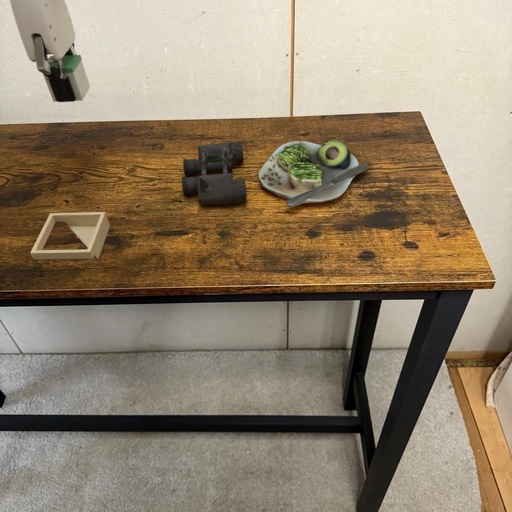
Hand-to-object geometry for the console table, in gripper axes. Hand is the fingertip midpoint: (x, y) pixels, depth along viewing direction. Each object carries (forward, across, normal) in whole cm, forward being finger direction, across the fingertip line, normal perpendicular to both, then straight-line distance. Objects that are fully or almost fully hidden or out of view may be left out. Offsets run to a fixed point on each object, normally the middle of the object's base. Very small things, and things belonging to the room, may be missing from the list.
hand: (71, 91), depth 78 cm
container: (0, 0, 0) cm, 0 cm away
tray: (+15, +22, +2) cm, 27 cm away
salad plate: (+15, +5, +41) cm, 44 cm away
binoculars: (+15, +6, +24) cm, 29 cm away
